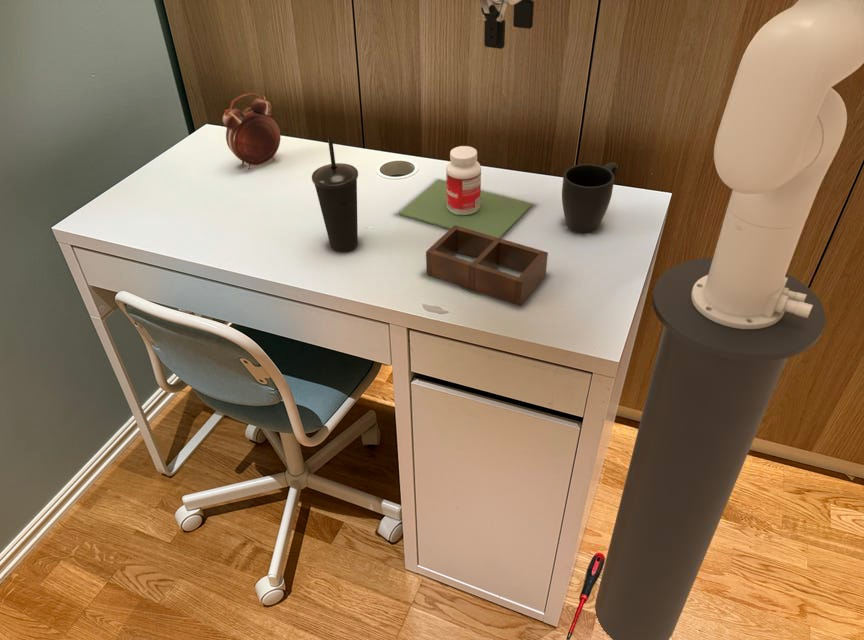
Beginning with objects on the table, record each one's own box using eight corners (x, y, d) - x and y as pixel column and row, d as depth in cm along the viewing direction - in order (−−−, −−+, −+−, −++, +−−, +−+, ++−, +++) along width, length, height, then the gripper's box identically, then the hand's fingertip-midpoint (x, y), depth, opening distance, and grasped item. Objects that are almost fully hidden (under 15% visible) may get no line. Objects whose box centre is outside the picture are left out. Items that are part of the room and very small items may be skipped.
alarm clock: (275, 152, 155) (262, 83, 144) (286, 159, 151) (273, 89, 141) (230, 168, 150) (213, 98, 140) (240, 176, 147) (224, 105, 137)
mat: (532, 205, 131) (532, 203, 130) (495, 243, 122) (495, 241, 122) (438, 181, 140) (438, 179, 139) (399, 214, 132) (399, 212, 131)
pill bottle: (442, 202, 133) (441, 147, 125) (473, 196, 134) (474, 141, 126) (452, 219, 128) (452, 163, 121) (485, 213, 129) (486, 156, 122)
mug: (629, 215, 126) (638, 166, 119) (586, 243, 120) (594, 193, 114) (591, 199, 131) (597, 151, 124) (548, 225, 125) (553, 176, 119)
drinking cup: (349, 228, 129) (336, 122, 116) (374, 245, 125) (363, 137, 111) (314, 244, 126) (296, 137, 113) (338, 262, 122) (322, 153, 108)
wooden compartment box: (545, 275, 114) (548, 252, 111) (520, 305, 109) (521, 282, 106) (454, 247, 122) (454, 224, 119) (426, 274, 117) (425, 251, 114)
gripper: (509, -74, 94) (505, 58, 105) (563, -101, 104) (554, 22, 115) (459, -77, 97) (460, 52, 109) (516, -103, 108) (512, 17, 119)
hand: (508, 37), depth 112 cm, fingers open, 9 cm apart
